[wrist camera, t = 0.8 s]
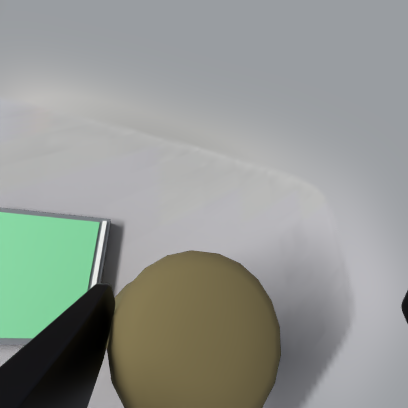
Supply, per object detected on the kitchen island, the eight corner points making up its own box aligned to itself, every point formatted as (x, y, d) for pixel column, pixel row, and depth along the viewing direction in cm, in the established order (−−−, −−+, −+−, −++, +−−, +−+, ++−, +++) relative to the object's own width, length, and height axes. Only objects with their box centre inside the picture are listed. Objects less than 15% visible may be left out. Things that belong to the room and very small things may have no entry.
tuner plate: (90, 344, 16) (89, 345, 15) (-55, 342, 14) (-67, 344, 13) (110, 223, 19) (110, 218, 18) (-10, 210, 17) (-16, 205, 16)
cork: (213, 285, 19) (320, 256, 9) (193, 391, 16) (312, 511, 6) (123, 262, 18) (132, 200, 8) (88, 372, 15) (36, 481, 5)
